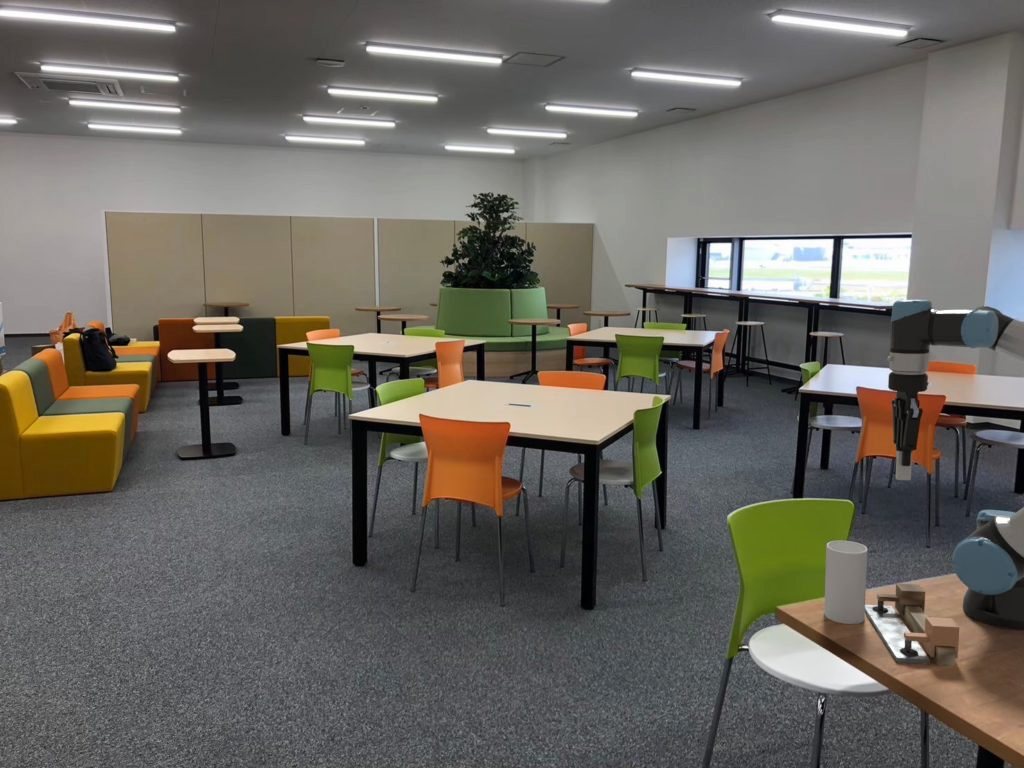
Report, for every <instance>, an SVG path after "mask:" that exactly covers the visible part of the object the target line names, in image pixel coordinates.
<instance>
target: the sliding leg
mask: <svg viewBox="0 0 1024 768" xmlns="http://www.w3.org/2000/svg"><path fill="white" fill-rule="evenodd" d="M904 638H905V649H908V650H910V649H911V646H912V641H917V642H921V643H922V642H924V645H923V648H924V650H925V651H926V652H927V654H928V655H929V656H930V658H933V657H934V652H935V646H952V647H953V648H954V650H955V651H956V655H955V660H956V659H958V658H959V640H960V626H959V625H958V624H957V623H956V622H955V620H954V619H953V618H951V617H949V618H948V617H932V616H928V617H926V619H925V633H914V632H911V633H908V632H904Z"/></svg>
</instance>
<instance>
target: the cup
mask: <svg viewBox="0 0 1024 768" xmlns="http://www.w3.org/2000/svg"><path fill="white" fill-rule="evenodd" d="M825 549H826V551H825V552H826V555H825V580H824V583H825V585H824V606H823V607H824V609H823V611H824V612H823V613H824V616H825V618H826V619H828V620H830V621H833V622H835V623H839V624H846V625H857V624H861V623H863V622H864V621H865V616H866V613H865V605H866V595H867V594H866V590H867V569H868V568H867V566H868V547H867V546H865V545H864V544H862V543H859V542H856V541H850V540H831V541H829V542H827V543H826V548H825Z"/></svg>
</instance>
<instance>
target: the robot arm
mask: <svg viewBox="0 0 1024 768" xmlns="http://www.w3.org/2000/svg"><path fill="white" fill-rule="evenodd" d="M932 305H933V304H932V301H931V300H929V299H899V300H896V301H894V302H893V304H892V308H891V309H892V310H891V318H890V319H891V320H890V343H889V345H890V348H889V356H888V357H886V360H887V362H889V370H890V371H891V372H889V373H888V380H887V381H888V384H887V386H888V387H887V388H888V389H889V390H890V391H892V392H893V391H894V392H896V394H895V395H896V396H895V398H894V399H892V400H891V408H892V422H893V423H892V428H893V429H892V430H893V433H892V435H893V444H894V445H895V447H896V448H895V449H896V450H895V451H896V458H895V459H896V460H895V463H896V464H895V479H896V480H897V481H911V480H912V465H913V464H912V463H913V452H914V451H916V450H917V448H918V447H917V445H918V440H919V434H920V433H919V432H920V424H921V418H922V415H923V413H924V412H923V411H924V410H923V408H920V403H921V402H920V400H919V396H918V394H919V393H922V392H923V393H924V392H926V391H927V390H928V383H929V382H928V381H929V375H928V374H927V373H926V372H928V371H929V370H930V369H929V367H930V346H937V347H938V346H944V347H956V348H957V347H962V348H970V349H977V348H987V349H990V350H992V351H995V352H997V353H999V354H1002V355H1004V356H1006V357H1008V358H1012V359H1014V360H1015V361H1017V362H1020V363H1023V364H1024V322H1023V321H1020V320H1019V319H1016V318H1013V317H1011V316H1008V315H1006V314H1003V313H1002V312H1001V311H1000V310H999V309H997V308H995V307H991V306H988V305H987V306H984V305H983V306H977V307H973V308H967V309H966V308H965V309H935V308H933V306H932ZM976 517H977V518H976V519H975V521H976V530H974V531H973V532H972V533H971V534H969V535H968V536H967V537H966V538H964V539H962V540H961V541H959V542H958V544H956V546H955V548H954V551H953V553H952V557H951V563H952V569H953V570H954V573H955V575H956V576H957V578H958V579H959V580H960V582H962V584H964V585H965V586H966V587H967V590H966V591H965V593H964V596H963V600H962V601H963V602H962V610H963V612H964V613H965V614H966V615H968V616H969V617H971V618H972V619H975V620H976V621H979V622H981V623H984V624H987V625H991V626H995V627H998V628H1004V629H1009V630H1024V506H1023V507H1022V508H1021V509H1019V510H1017V511H1016V512H1014V511H1007V510H998V509H997V510H996V509H983V510H980V511H979V512H978V513H977V516H976Z"/></svg>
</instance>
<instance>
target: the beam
mask: <svg viewBox="0 0 1024 768" xmlns="http://www.w3.org/2000/svg"><path fill="white" fill-rule="evenodd" d="M901 616H902V618H903V617H904V618H903V619H904V620H905V622H906V621H907V622H906V623H907V624H908V626H909V627H910V629H911V630H912V632H913V633H925V619H926V617H929V616H928V615H927V614H926V612H925V610H924V611H923V610H922V609H921V607H920V606H919V605H904V614H903V615H901ZM921 644H922V645H923V646H924V642H921ZM955 655H956V651H955V650H954V648H953V647H952V646H935V652H934V657H932V659H933V661H934V662H935V663H936V664H937V665H938V666H947V667H948V666H951V667H955V666H956V658H955Z"/></svg>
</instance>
